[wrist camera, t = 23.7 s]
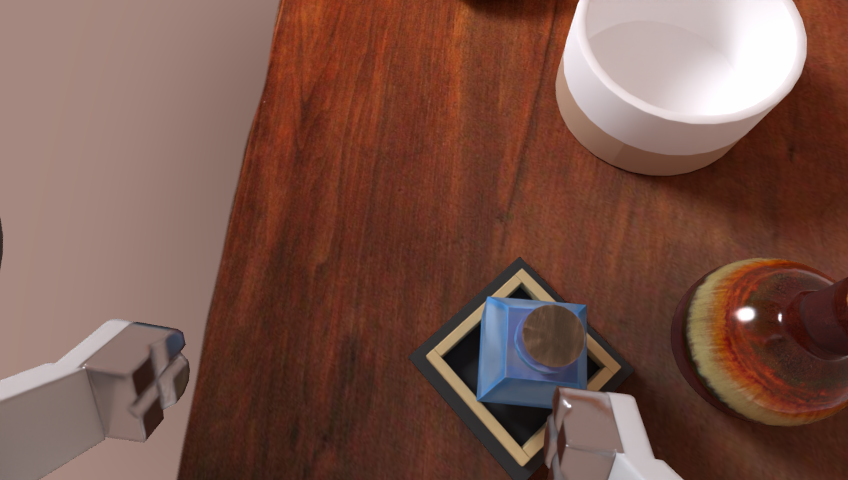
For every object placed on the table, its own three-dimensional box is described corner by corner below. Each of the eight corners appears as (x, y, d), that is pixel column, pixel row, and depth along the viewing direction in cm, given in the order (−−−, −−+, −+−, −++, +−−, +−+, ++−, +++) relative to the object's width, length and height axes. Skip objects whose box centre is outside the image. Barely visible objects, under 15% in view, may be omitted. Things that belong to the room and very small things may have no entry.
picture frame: (518, 485, 37) (522, 489, 34) (409, 358, 40) (406, 354, 38) (630, 371, 39) (642, 368, 36) (518, 260, 42) (522, 250, 40)
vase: (745, 256, 41) (906, 168, 27) (837, 385, 38) (1080, 365, 23) (626, 313, 40) (726, 254, 26) (709, 452, 37) (879, 473, 22)
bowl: (721, 12, 49) (772, -65, 42) (770, 170, 44) (840, 115, 36) (543, 25, 50) (561, -49, 42) (568, 183, 44) (594, 132, 36)
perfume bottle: (564, 409, 36) (617, 405, 24) (476, 400, 36) (488, 392, 25) (565, 322, 38) (614, 281, 26) (481, 314, 38) (495, 271, 27)
